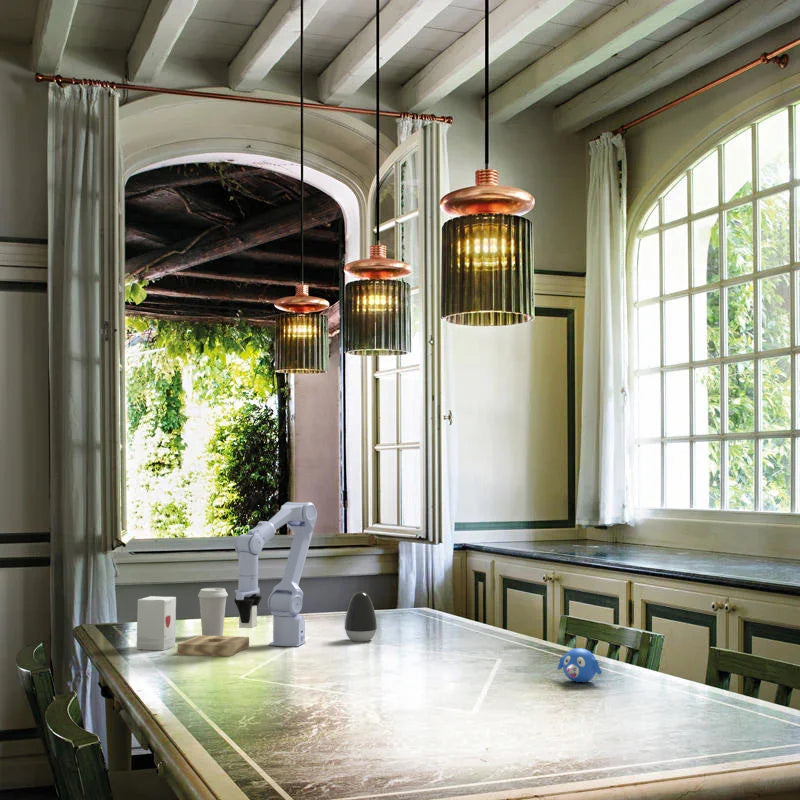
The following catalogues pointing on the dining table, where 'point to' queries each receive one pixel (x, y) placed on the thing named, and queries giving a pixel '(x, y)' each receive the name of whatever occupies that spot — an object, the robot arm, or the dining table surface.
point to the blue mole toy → (579, 665)
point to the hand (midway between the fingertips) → (247, 621)
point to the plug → (252, 620)
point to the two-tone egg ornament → (360, 618)
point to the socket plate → (213, 645)
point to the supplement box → (156, 623)
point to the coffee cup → (212, 610)
